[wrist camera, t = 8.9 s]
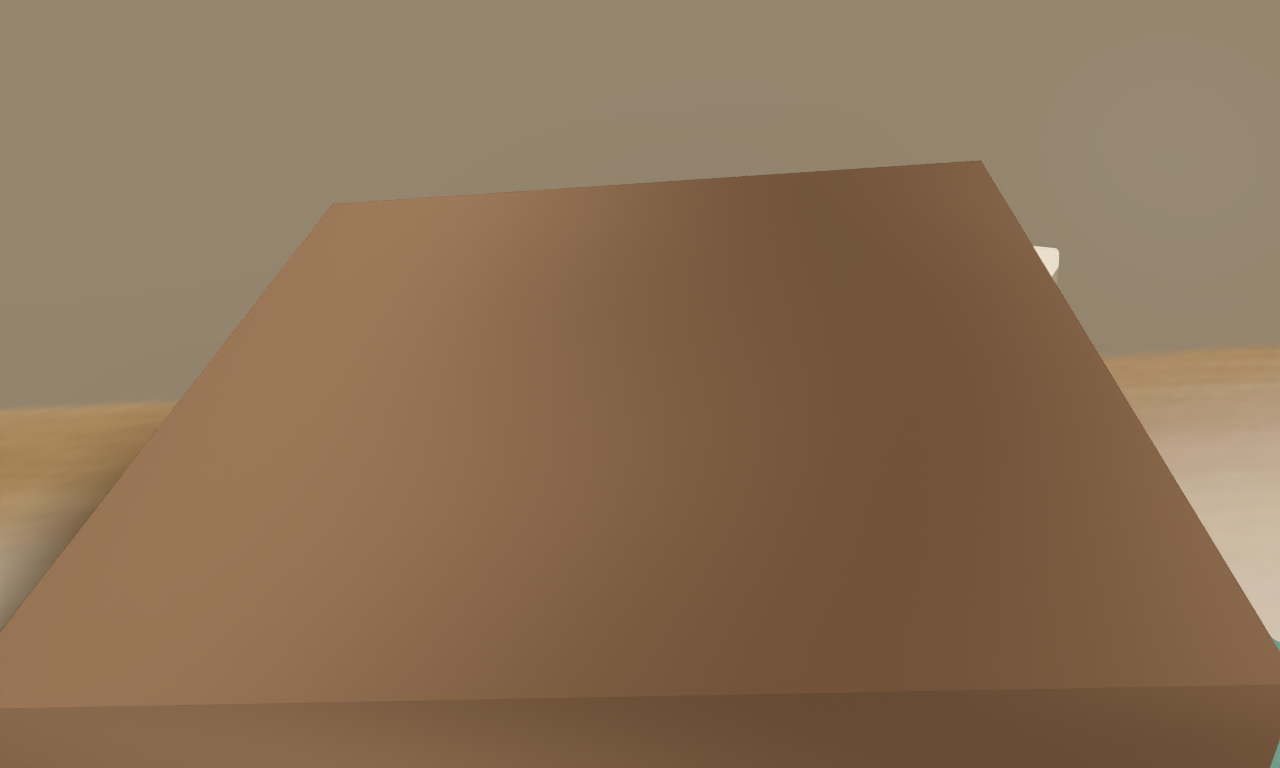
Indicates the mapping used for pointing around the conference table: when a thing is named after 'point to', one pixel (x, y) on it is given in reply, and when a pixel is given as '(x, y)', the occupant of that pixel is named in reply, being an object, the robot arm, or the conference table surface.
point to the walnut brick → (649, 508)
